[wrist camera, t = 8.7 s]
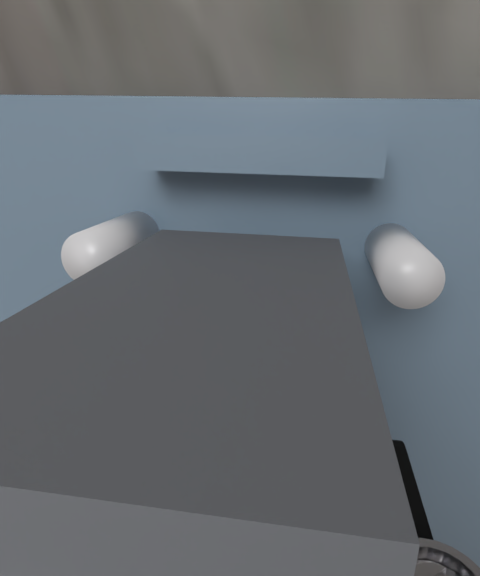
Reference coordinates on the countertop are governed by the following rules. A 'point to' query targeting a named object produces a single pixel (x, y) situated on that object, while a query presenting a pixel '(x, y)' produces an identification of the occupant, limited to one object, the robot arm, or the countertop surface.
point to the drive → (199, 419)
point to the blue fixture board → (282, 230)
